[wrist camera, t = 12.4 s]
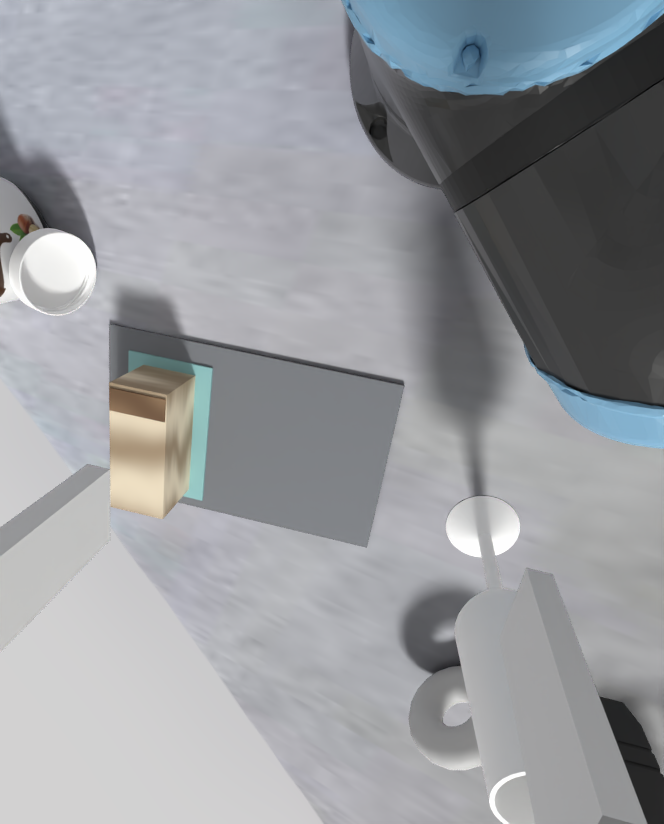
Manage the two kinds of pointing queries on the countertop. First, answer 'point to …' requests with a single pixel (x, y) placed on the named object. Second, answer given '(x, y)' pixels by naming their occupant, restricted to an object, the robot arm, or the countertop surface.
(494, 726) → the champagne flute
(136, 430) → the birch block
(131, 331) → the rubber mat
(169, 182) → the countertop surface
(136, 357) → the pad
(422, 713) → the donut
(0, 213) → the spread jar
